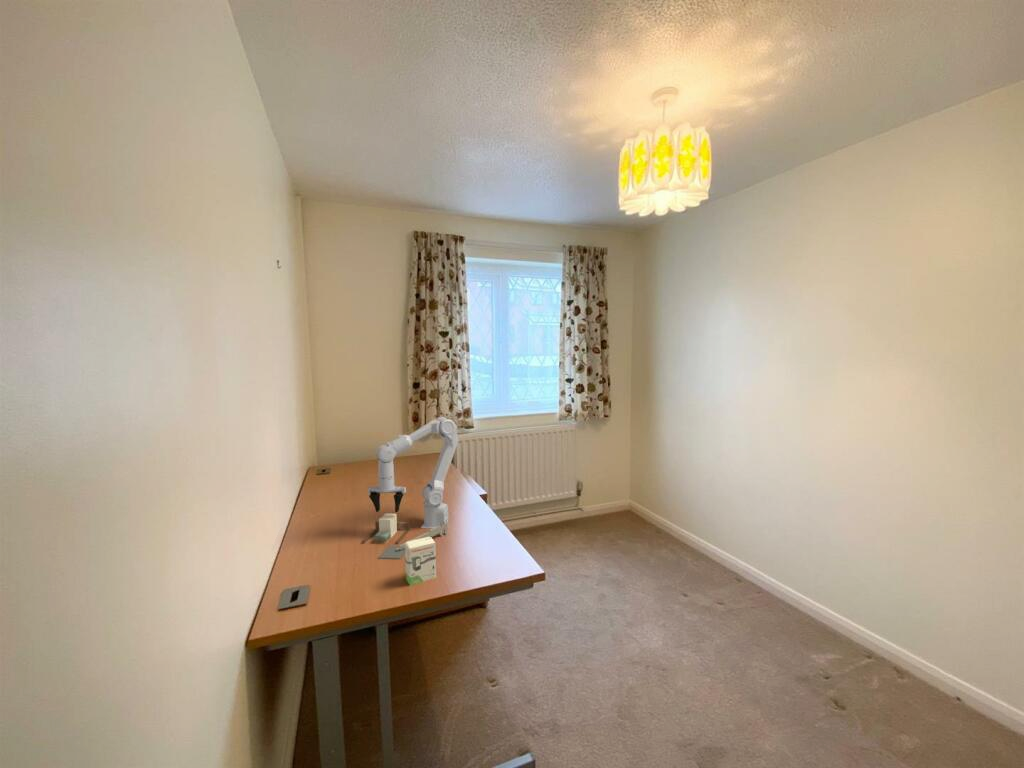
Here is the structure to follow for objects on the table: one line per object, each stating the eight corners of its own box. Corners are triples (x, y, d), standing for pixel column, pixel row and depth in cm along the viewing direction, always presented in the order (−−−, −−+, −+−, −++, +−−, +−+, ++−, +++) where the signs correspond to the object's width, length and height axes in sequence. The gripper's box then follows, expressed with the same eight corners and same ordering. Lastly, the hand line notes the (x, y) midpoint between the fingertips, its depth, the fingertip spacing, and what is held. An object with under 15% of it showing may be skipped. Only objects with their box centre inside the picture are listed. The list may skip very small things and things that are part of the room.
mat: (410, 548, 147) (409, 546, 146) (400, 560, 138) (400, 558, 138) (388, 547, 147) (388, 545, 147) (378, 559, 139) (377, 557, 138)
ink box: (409, 586, 122) (408, 548, 121) (405, 578, 126) (404, 542, 125) (436, 578, 126) (435, 541, 125) (432, 571, 130) (430, 535, 129)
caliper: (445, 535, 156) (446, 519, 155) (447, 536, 155) (447, 520, 155) (395, 550, 143) (395, 533, 142) (396, 551, 142) (397, 534, 142)
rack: (409, 532, 160) (409, 522, 160) (397, 546, 148) (397, 535, 148) (376, 531, 162) (376, 521, 162) (362, 544, 150) (361, 534, 150)
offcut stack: (390, 541, 153) (390, 532, 152) (386, 545, 149) (386, 536, 149) (378, 541, 153) (378, 531, 153) (374, 545, 150) (374, 536, 149)
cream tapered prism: (397, 533, 159) (396, 513, 159) (390, 540, 153) (390, 519, 153) (386, 533, 160) (385, 513, 159) (379, 540, 154) (378, 519, 154)
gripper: (408, 473, 159) (409, 507, 160) (372, 473, 160) (373, 507, 161) (402, 478, 152) (403, 514, 153) (364, 478, 153) (365, 513, 154)
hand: (387, 511), depth 156 cm, fingers open, 7 cm apart
